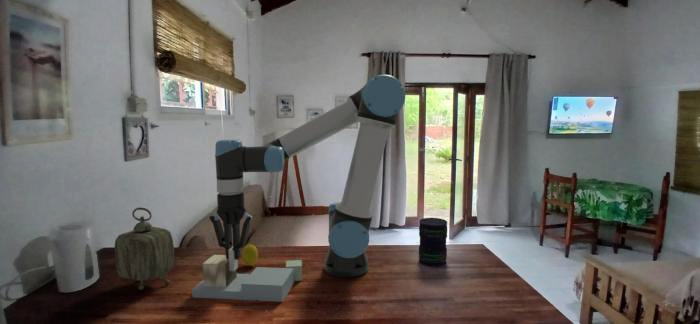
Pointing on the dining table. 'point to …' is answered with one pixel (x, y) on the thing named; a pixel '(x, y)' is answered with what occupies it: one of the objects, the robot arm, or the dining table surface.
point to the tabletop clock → (144, 252)
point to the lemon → (249, 254)
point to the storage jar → (432, 242)
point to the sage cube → (295, 268)
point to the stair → (252, 286)
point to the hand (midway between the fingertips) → (233, 269)
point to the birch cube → (218, 272)
